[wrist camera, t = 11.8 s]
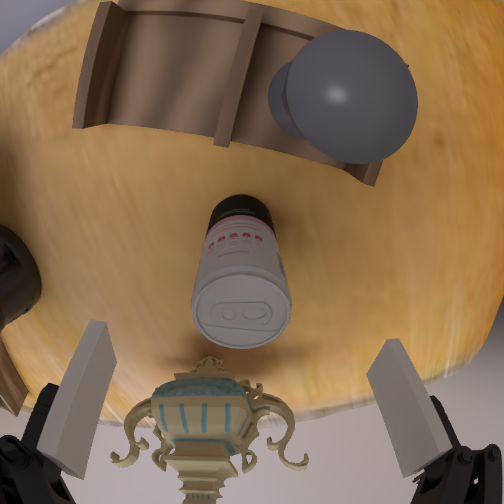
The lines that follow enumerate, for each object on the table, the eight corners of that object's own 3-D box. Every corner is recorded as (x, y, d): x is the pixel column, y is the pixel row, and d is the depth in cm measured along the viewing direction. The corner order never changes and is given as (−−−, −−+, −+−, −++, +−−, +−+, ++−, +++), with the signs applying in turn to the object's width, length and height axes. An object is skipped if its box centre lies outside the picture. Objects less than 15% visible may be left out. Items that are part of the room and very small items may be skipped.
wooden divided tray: (101, 122, 25) (72, 128, 19) (129, 2, 18) (106, -16, 13) (350, 171, 28) (373, 186, 23) (383, 54, 22) (412, 47, 17)
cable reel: (258, 127, 25) (271, 141, 15) (279, 48, 22) (306, 10, 11) (339, 150, 27) (396, 180, 16) (360, 75, 23) (428, 65, 12)
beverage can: (270, 249, 33) (288, 349, 19) (212, 250, 32) (196, 350, 19) (272, 193, 29) (297, 271, 16) (208, 194, 29) (182, 273, 16)
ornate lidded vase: (288, 320, 38) (327, 551, 12) (290, 371, 43) (317, 549, 17) (125, 334, 39) (69, 525, 12) (151, 380, 44) (123, 540, 18)
